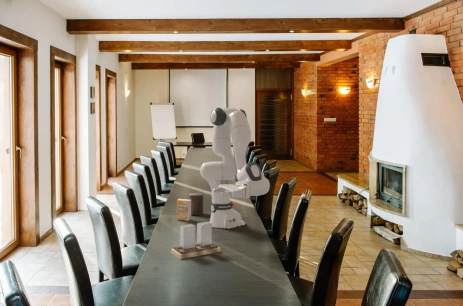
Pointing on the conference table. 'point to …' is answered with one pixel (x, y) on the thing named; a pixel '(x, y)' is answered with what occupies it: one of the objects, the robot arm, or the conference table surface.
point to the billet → (187, 237)
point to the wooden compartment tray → (194, 251)
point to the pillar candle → (196, 203)
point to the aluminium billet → (204, 234)
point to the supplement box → (183, 209)
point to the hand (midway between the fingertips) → (217, 192)
